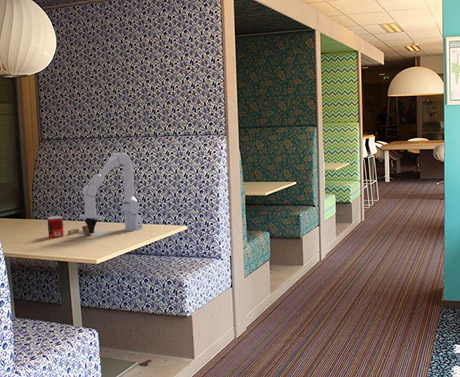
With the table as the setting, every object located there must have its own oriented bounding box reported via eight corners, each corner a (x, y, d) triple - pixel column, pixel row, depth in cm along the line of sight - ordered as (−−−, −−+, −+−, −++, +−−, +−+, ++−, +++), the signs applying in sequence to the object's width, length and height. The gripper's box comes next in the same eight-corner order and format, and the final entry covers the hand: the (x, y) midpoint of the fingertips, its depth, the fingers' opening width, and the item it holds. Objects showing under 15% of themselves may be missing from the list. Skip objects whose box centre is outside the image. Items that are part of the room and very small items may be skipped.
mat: (115, 232, 345) (115, 231, 345) (95, 237, 330) (95, 236, 330) (88, 230, 354) (87, 229, 354) (67, 235, 340) (66, 234, 340)
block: (94, 232, 337) (92, 224, 337) (89, 234, 333) (87, 225, 333) (89, 234, 339) (86, 225, 339) (84, 235, 335) (81, 226, 335)
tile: (96, 228, 345) (87, 227, 349) (88, 230, 339) (78, 229, 342) (97, 231, 345) (87, 231, 349) (88, 234, 339) (78, 233, 343)
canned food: (66, 236, 338) (65, 216, 337) (58, 239, 330) (56, 218, 329) (54, 235, 340) (53, 215, 339) (45, 238, 333) (44, 218, 332)
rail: (79, 232, 344) (78, 228, 344) (70, 235, 338) (70, 230, 338) (77, 232, 345) (76, 228, 345) (68, 234, 339) (67, 230, 339)
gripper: (74, 208, 333) (76, 233, 335) (95, 209, 326) (97, 234, 328) (83, 206, 339) (85, 230, 341) (104, 207, 333) (105, 232, 334)
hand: (91, 232), depth 335 cm, fingers closed, pressing on block
